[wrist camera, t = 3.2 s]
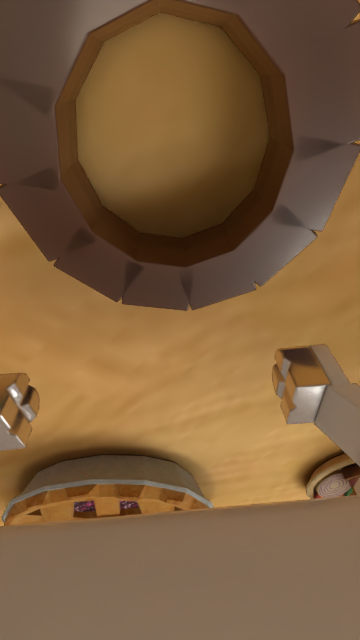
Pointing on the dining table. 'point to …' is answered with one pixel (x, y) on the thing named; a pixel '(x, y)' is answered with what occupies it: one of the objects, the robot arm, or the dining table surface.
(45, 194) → the ring
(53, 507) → the pie
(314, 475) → the toy sandwich meal
